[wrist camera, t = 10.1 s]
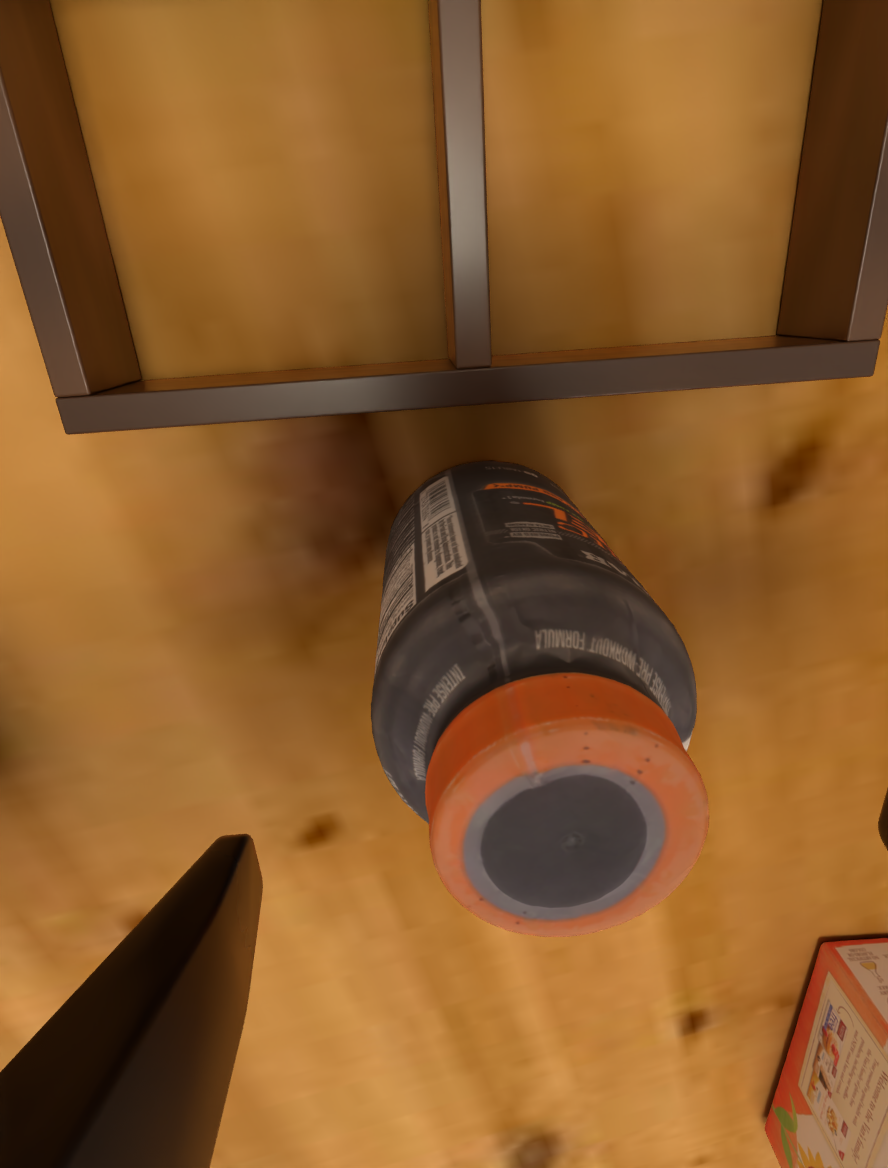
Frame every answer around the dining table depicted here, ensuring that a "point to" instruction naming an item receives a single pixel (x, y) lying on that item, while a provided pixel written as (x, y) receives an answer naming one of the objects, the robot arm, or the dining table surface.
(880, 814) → the robot arm
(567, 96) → the dining table surface
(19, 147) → the rack
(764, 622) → the dining table surface
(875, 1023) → the cracker box
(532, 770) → the pill bottle
